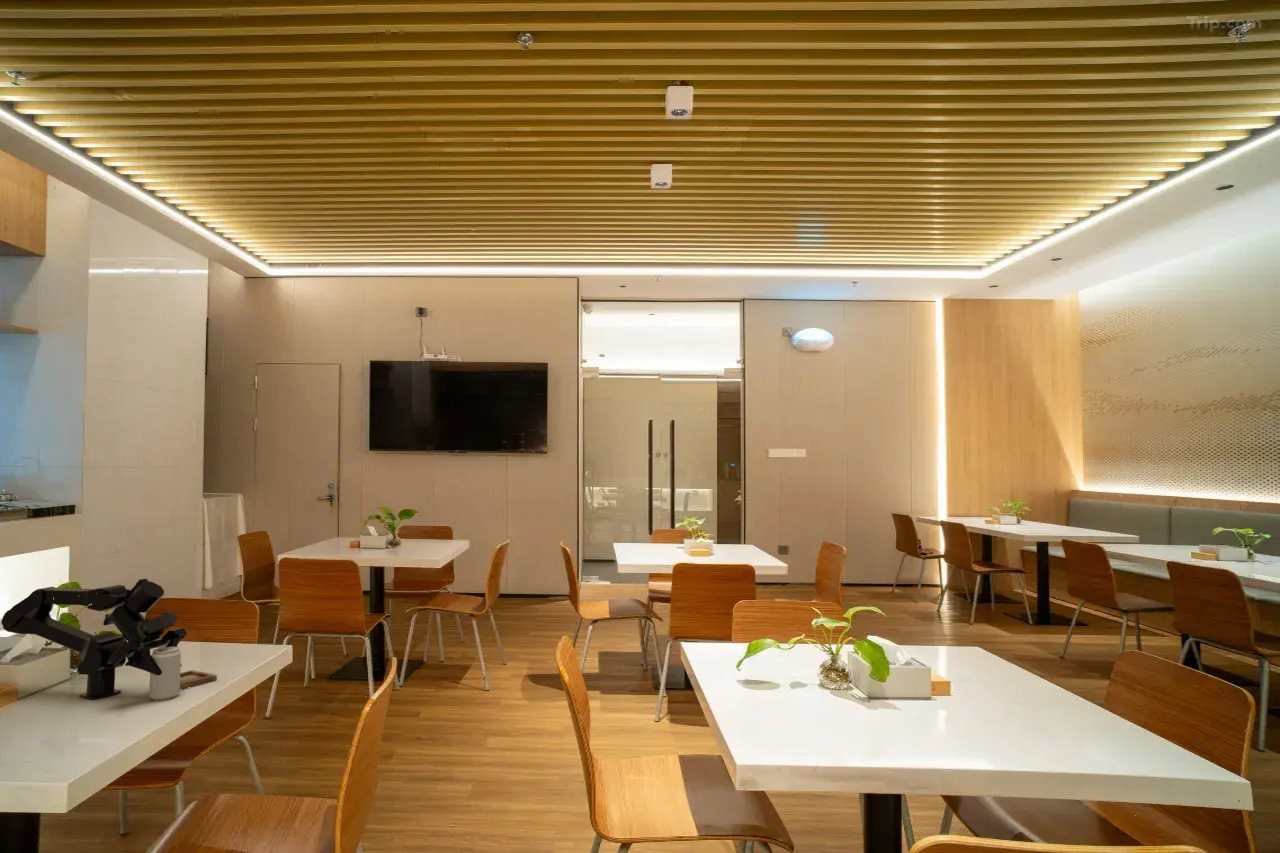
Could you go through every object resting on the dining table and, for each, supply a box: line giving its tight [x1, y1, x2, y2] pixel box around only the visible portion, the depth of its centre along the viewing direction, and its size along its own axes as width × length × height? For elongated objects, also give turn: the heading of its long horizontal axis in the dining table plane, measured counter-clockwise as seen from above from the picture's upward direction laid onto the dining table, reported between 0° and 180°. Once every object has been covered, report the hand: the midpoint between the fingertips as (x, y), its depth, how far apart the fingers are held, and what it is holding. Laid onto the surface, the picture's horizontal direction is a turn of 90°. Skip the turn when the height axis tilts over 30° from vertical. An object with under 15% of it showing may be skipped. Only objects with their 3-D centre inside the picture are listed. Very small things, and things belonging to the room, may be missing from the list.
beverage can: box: [148, 646, 182, 701], centre depth 180 cm, size 6×6×12 cm
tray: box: [180, 669, 218, 690], centre depth 192 cm, size 11×11×2 cm
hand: (170, 670), depth 180 cm, fingers closed on beverage can, 6 cm apart
